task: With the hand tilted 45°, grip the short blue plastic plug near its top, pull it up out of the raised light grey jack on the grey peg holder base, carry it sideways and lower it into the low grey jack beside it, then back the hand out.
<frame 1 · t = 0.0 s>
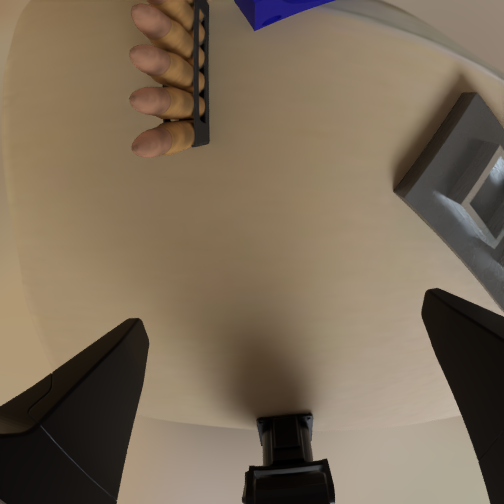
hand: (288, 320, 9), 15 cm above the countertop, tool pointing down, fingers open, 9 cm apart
ammunition clip: (195, 71, 19), on the countertop
grey peg holder base: (495, 219, 23), on the countertop
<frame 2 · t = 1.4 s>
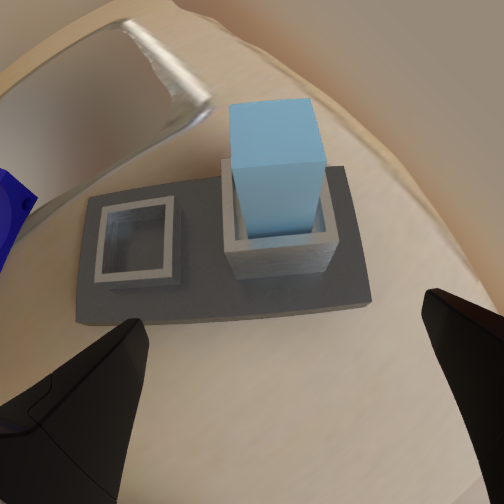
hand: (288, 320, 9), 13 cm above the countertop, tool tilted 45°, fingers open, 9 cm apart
grey peg holder base: (212, 251, 24), on the countertop
plug: (276, 208, 19), point 6 cm above the countertop, touching grey peg holder base
cable clip: (6, 239, 28), on the countertop
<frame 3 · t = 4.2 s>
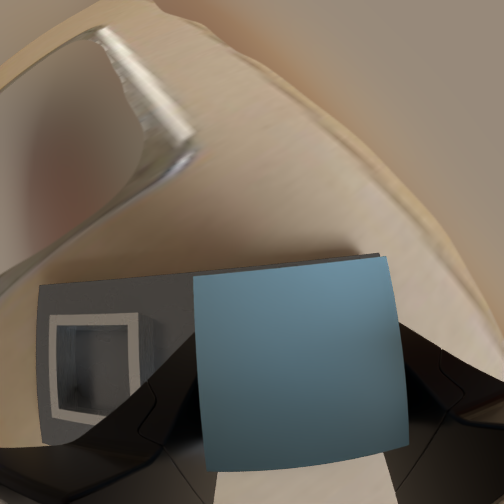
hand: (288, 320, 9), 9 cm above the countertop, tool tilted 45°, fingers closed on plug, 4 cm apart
grey peg holder base: (198, 371, 17), on the countertop
plug: (288, 366, 11), point 6 cm above the countertop, touching grey peg holder base, gripper
when the fingers open (7 cm above the countertop, at t = 9.4 s): plug drops 1 cm, resting on grey peg holder base.
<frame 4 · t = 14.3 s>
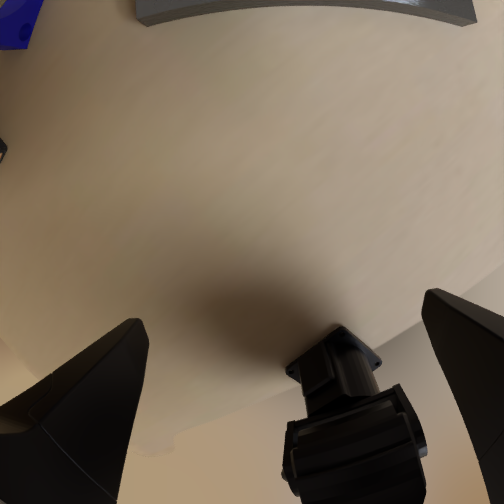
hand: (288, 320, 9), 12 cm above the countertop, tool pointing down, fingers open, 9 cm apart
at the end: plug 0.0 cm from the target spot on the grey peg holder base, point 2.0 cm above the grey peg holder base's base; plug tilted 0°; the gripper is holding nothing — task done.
